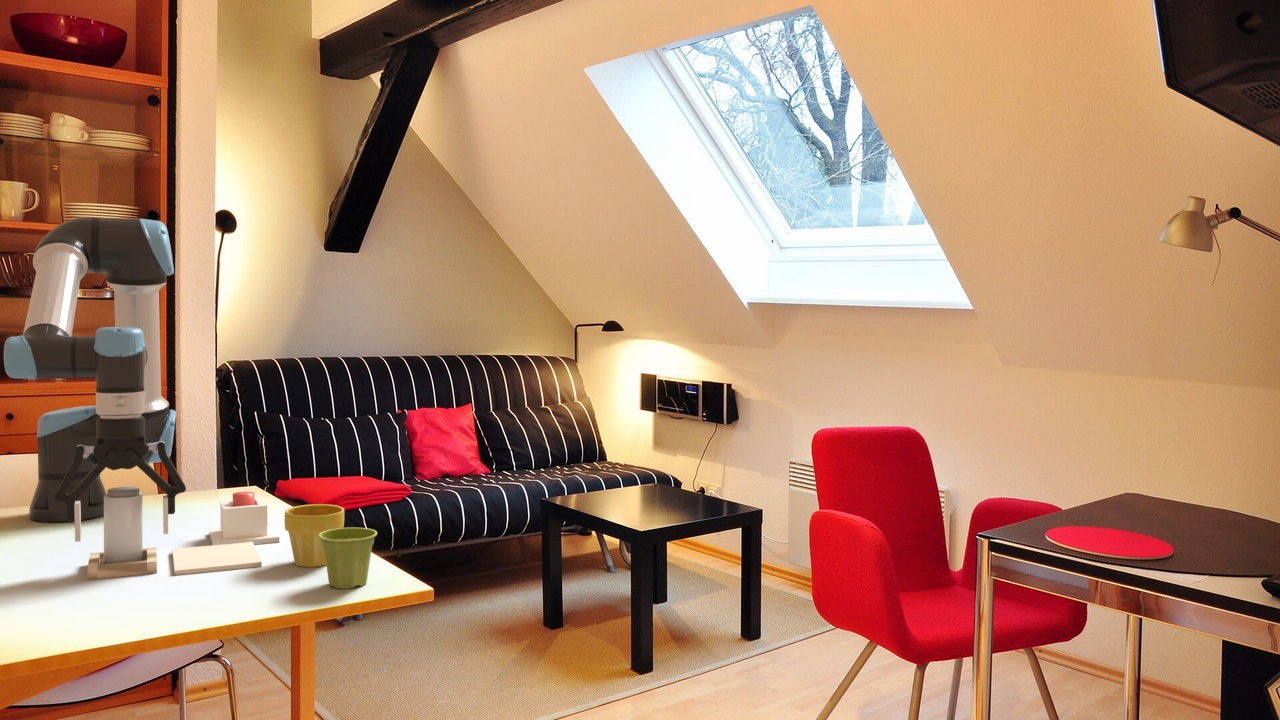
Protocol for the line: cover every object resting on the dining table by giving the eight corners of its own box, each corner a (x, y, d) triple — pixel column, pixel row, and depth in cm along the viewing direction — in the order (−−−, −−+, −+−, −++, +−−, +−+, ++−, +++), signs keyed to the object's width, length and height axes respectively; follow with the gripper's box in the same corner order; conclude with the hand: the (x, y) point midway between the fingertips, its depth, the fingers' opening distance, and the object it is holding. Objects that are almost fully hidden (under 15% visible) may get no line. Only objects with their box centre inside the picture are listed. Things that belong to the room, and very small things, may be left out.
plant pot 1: (356, 558, 181) (356, 506, 180) (320, 572, 171) (320, 517, 171) (309, 552, 184) (309, 501, 184) (272, 566, 175) (271, 512, 174)
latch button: (232, 517, 195) (231, 492, 195) (253, 515, 197) (253, 490, 197) (233, 521, 192) (233, 496, 191) (255, 519, 193) (255, 494, 193)
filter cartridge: (103, 565, 173) (104, 487, 172) (141, 562, 176) (142, 485, 175) (103, 574, 168) (103, 493, 167) (142, 570, 170) (143, 491, 170)
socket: (90, 564, 174) (90, 553, 174) (156, 558, 179) (156, 547, 179) (87, 579, 165) (87, 568, 165) (156, 572, 169) (156, 561, 169)
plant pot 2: (326, 576, 169) (326, 527, 169) (381, 576, 170) (381, 526, 169) (312, 592, 160) (312, 540, 159) (371, 592, 161) (371, 540, 160)
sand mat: (172, 553, 182) (172, 548, 182) (252, 545, 189) (252, 541, 189) (174, 575, 168) (174, 570, 168) (261, 566, 175) (261, 562, 174)
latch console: (209, 534, 197) (208, 500, 197) (272, 528, 203) (272, 495, 202) (212, 548, 187) (212, 511, 186) (279, 542, 192) (279, 506, 192)
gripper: (34, 421, 161) (37, 548, 162) (200, 415, 172) (201, 534, 174) (39, 416, 168) (41, 538, 169) (198, 410, 179) (199, 525, 180)
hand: (122, 536), depth 171 cm, fingers open, 13 cm apart
